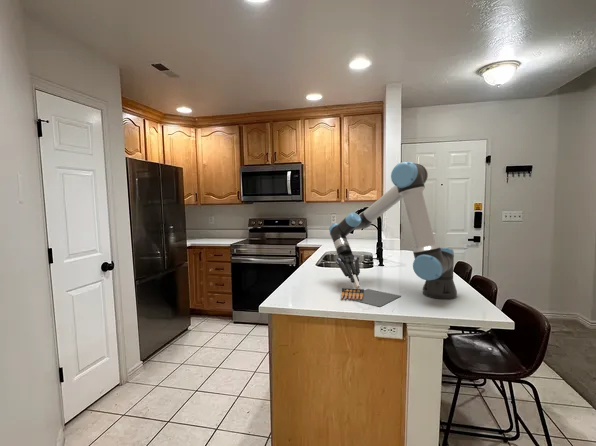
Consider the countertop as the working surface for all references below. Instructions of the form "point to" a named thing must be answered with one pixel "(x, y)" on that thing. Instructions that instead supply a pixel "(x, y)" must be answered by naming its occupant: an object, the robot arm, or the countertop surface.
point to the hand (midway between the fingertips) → (357, 287)
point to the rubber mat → (376, 298)
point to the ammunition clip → (355, 292)
